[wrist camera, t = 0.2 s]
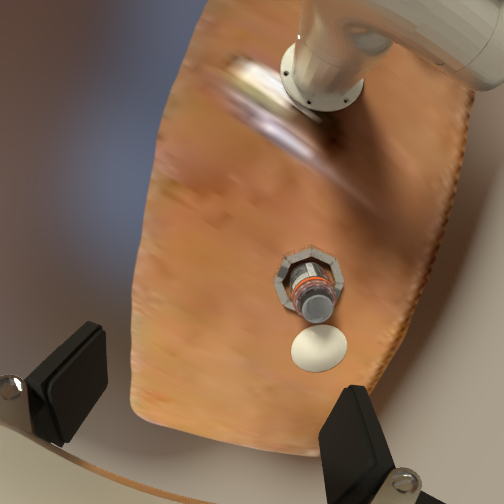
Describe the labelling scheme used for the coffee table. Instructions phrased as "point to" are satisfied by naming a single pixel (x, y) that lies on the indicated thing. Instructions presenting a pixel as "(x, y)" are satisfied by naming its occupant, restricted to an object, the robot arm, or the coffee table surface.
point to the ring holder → (300, 255)
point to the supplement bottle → (312, 292)
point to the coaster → (319, 348)
